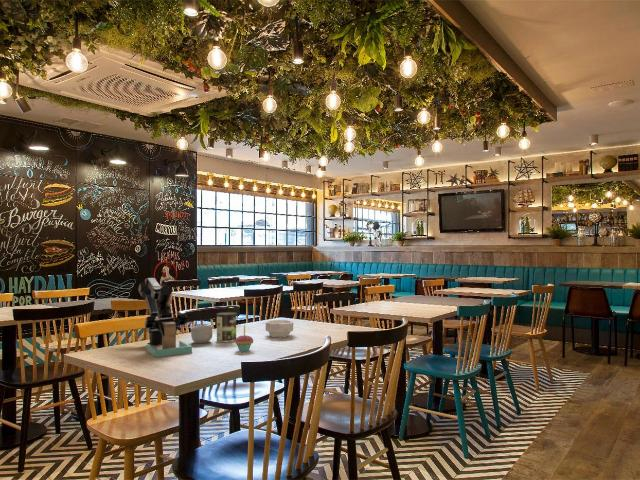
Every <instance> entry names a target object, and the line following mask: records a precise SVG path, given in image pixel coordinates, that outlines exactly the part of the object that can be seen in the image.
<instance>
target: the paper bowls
mask: <svg viewBox="0 0 640 480" xmlns="http://www.w3.org/2000/svg"><path fill="white" fill-rule="evenodd" d="M265 331H266V332H268V334H269V336H270V337H272V338H287V337H289V336H290V333H291V332H293V331H294V322H293V320H288V319H287V320H286V319H271V320H266V321H265Z"/></svg>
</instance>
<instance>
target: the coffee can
mask: <svg viewBox="0 0 640 480" xmlns="http://www.w3.org/2000/svg"><path fill="white" fill-rule="evenodd" d="M237 315H238V314H237V312H232V311H226V312H225V311H223V312H217V313H216V342H218V343H231V342H235V339H236V338H237Z"/></svg>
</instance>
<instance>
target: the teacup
mask: <svg viewBox="0 0 640 480" xmlns="http://www.w3.org/2000/svg"><path fill="white" fill-rule="evenodd" d="M190 335H191V341H192V342H194V343H195V344H205V343H209V342H210V341H211V340H212V339H213V325H211V324H210V325H209V324H207V325H204V324H203V325H196V326H192V327H190Z"/></svg>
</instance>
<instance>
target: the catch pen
mask: <svg viewBox="0 0 640 480" xmlns="http://www.w3.org/2000/svg"><path fill="white" fill-rule="evenodd" d="M146 352H148V353H149V354H150V355H152V356H153V357H154V358H163V357H169V356H177V355H185V354H192V353H193V346H192V345H190V344H188V343H187V342H185V341H183V340H179V341H178V347H177V346H176V348H169V349H162V348H161V349H157V348H155V347H154V345H151V344H147V345H146Z"/></svg>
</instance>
